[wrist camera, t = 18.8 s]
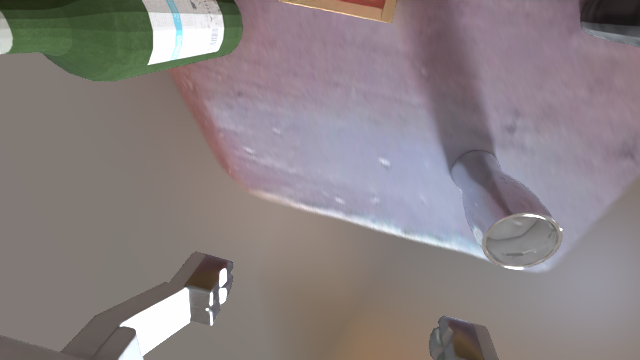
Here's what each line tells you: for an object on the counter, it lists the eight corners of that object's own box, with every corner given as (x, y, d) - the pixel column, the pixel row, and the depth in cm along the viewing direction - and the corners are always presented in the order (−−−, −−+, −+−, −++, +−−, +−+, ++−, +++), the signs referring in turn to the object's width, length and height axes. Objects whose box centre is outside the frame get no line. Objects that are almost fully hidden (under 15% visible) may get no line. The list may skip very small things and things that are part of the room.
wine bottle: (174, -8, 36) (-362, -81, 10) (232, -24, 34) (-236, -164, 8) (197, 60, 39) (-152, 140, 13) (251, 50, 37) (-31, 118, 12)
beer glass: (476, 200, 42) (522, 280, 29) (436, 177, 41) (463, 248, 28) (514, 162, 39) (585, 235, 26) (471, 136, 38) (520, 197, 25)
